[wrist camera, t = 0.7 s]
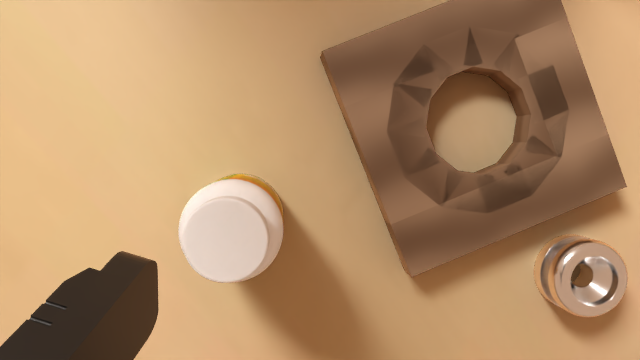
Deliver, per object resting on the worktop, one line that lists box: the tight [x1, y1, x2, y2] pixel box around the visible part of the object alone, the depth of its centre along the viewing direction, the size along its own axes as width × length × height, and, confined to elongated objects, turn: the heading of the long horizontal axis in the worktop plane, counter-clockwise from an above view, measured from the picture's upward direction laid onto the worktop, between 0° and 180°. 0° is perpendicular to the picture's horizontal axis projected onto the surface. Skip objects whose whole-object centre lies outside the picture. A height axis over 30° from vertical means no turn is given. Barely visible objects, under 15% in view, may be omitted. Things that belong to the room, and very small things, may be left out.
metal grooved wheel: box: [534, 234, 628, 317], centre depth 34 cm, size 5×3×5 cm
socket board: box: [320, 0, 627, 277], centre depth 33 cm, size 15×15×2 cm
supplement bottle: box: [179, 174, 284, 283], centre depth 29 cm, size 5×5×10 cm
